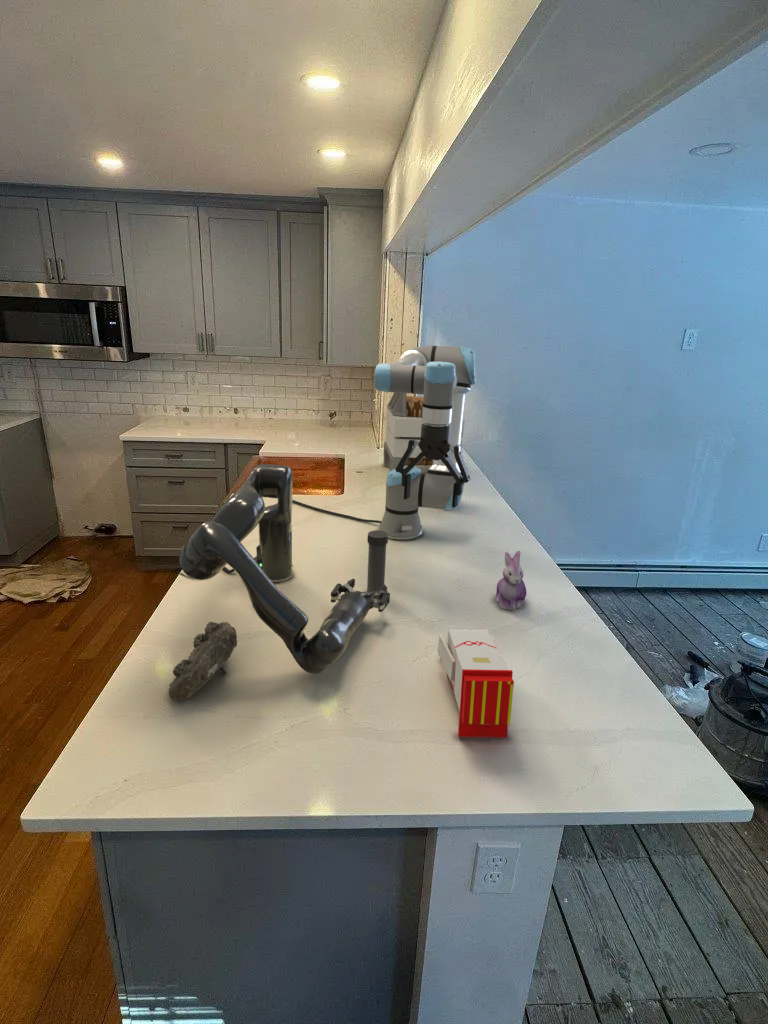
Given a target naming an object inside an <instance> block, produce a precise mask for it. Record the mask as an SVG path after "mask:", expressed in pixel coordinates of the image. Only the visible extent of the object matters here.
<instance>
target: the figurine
mask: <svg viewBox="0 0 768 1024" xmlns="http://www.w3.org/2000/svg"><path fill="white" fill-rule="evenodd" d="M521 554H522V553H521V551H520V550H517V551H516V552H515V554H514V555H513V557H512V556H511V554H510V552H508V551H505V552H504V554H503V555H504V568H503V570H502V578H501V579H500V580H498V581H497V583H496V593H495V602H496V604H498V605H499V607H500V609H503V610H508V611H514V610H516V609H521V607H522V606H524V603H525V600H526V597H527V586H526V584H525V582H524V579H523V578H524V571H523V569H522V567H521V564H520V563H521V562H520V561H521Z"/></svg>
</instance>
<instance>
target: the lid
mask: <svg viewBox="0 0 768 1024" xmlns="http://www.w3.org/2000/svg"><path fill="white" fill-rule="evenodd" d="M388 543H389V538H388V534H387V533H386V532H384V531H379V529H378V530H377V529H376V530H375V529H374V530H371V531H368V533H367V544H368V545H369V544H370V545H373V546H384V545H386V546H387V545H388Z"/></svg>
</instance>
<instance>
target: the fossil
mask: <svg viewBox="0 0 768 1024" xmlns="http://www.w3.org/2000/svg"><path fill="white" fill-rule="evenodd" d="M237 635H238V634H237V629H236V628H235V627H234V626H231V624H230V623H229V622H228V621H225V622H224V621H222V622H219V623H218V622H214V621H209V622H208V623H207V624H206V625H205V628H204V632H203V633H201V632H200V633H198V634H197V635H195V636H194V638H193V649H192V650H191V652H190V654H189V656H188V658H187V659H182V660H181V661H180V662H178V663H177V664H176V666H174V668H173V670H172V674H173V676H174V677H175V678H174V679H173V681H172V682H170V683H169V685H168V688H167V689H168V697H169V698H173V699H174V700H176V701H177V700H182V699H187V698H191V697H192V696H193V695H194V694H196V692H198V691H200V689H202V688H203V687H204V685H205V684H207V683H208V682H209V681H210V680H211V679H212V678H213V676H214V675H215V673H216V672H218V671H219V670H220V671H221V672H222V673H223V674H225V675H226V674H227V671H226V670H225V669H224V667H222V665H223V664H224V663H225V662H228V660H229V659H230V658H231V655H232V653H233V651H234V649H235V648H236V647H237V645H238V636H237Z"/></svg>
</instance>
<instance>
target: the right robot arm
mask: <svg viewBox="0 0 768 1024" xmlns="http://www.w3.org/2000/svg"><path fill="white" fill-rule="evenodd" d="M373 375H374V378H373V381H374V382H373V383H374V388H375V390H376V391H378V392H384V393H387V394H389V393H394V392H395V393H407V394H412V395H423V397H424V399H423V411H422V422H423V424H422V425H421V440H420V441H417V440H415V439H411V440H409V442H408V448H407V450H406V452H405V453H404V455H403V457H402V459H401V460H400V462H399V464H398V465H397V467H396V469H393V470H391V471H390V470H389V472H388V473H387V475H386V482H385V504H384V505H385V507H384V508H385V509H384V513H383V515H382V519H381V520H377V519H365V518H361V517H360V518H359V517H356V516H351V515H348V514H344V513H339V512H335V511H330V510H326V509H323V508H319V507H316V506H313V505H309V504H306V503H303V502H301V501H299V500H298V501H297V500H295V499H292V503H293V504H296V505H300V506H302V507H305V508H308V509H311V510H314V511H317V512H322V513H325V514H330V515H333V516H337V517H342V518H346V519H350V520H353V521H359V522H365V523H374V524H379V527H378V530H379V531H384V532H386V533H387V534H388V539H389V540H395V541H410V540H415V539H418V538H420V537H421V536H422V535H423V525H422V524H421V518H420V515H419V508H427V509H437V510H443V511H447V510H448V511H456V510H457V509H459V508H460V504H461V501H462V498H463V497H462V496H463V493H464V488H465V483H468V482H470V481H471V474H470V472H469V469H468V466H467V464H466V462H465V459H464V456H463V454H462V453H461V445H460V442H461V440H462V438H461V431H462V421H463V419H464V412H465V411H464V409H465V400H466V395H467V394H468V393H469V392H470V391H471V386H474V385H476V356H475V351H474V350H473V348H471V347H464V346H449V345H447V346H446V345H432V344H431V345H430V344H429V345H421V346H418V347H413V348H411V349H408V350H406V351H404V352H403V353H402V354H401V355H400V357H399V359H398V360H397V361H395V362H393V363H389V362H386V363H378V364H377V365H376V367H375V370H374V374H373ZM417 446H419V448H420V450H421V451H422V452H421V453H420V454H419V455H418V456H417V457H416V458H415V459H414V460H413V461H412V462H411V463H410V464H409V465H408V466H407V465H405V464H406V462H407V461H408V459H409V457H410V455H411V454H412V452H413V450H414V448H416V447H417ZM424 457H426V458H427V459H433V464H432V465H430V466H428V468H427V473H423V472H422V469H421V468H420V467H417V466H416V465H417V464H418V463H419V462H420V461H421V460H422V459H423V458H424Z"/></svg>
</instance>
